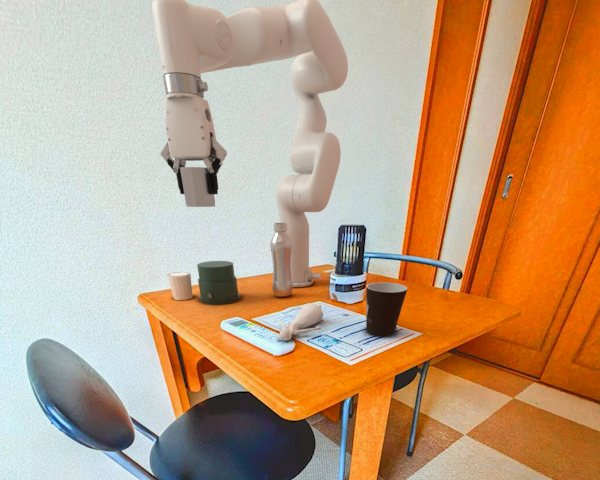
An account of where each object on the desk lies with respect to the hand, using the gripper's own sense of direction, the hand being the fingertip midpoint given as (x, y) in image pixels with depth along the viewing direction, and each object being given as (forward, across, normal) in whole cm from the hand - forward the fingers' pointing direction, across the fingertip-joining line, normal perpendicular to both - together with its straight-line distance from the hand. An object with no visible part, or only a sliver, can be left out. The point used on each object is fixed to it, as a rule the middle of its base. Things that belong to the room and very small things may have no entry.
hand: (199, 193), depth 74 cm
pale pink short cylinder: (+27, +14, -6) cm, 31 cm away
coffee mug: (+27, -47, +8) cm, 55 cm away
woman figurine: (+27, -28, +12) cm, 41 cm away
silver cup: (+3, 0, 0) cm, 3 cm away
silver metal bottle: (+27, -16, -15) cm, 35 cm away
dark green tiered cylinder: (+27, +2, -8) cm, 28 cm away
